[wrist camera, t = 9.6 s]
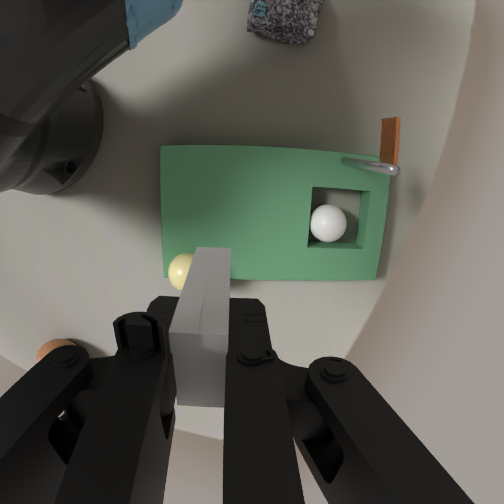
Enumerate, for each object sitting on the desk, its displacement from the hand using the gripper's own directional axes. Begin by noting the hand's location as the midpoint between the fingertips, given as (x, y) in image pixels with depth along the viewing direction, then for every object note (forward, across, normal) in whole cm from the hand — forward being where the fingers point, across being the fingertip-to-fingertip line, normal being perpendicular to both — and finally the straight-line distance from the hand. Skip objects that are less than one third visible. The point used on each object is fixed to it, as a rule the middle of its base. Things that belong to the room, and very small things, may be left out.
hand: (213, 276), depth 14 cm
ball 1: (+16, -4, -7) cm, 18 cm away
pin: (+18, +12, +7) cm, 23 cm away
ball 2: (+18, +11, -2) cm, 21 cm away
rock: (+21, +5, +22) cm, 31 cm away
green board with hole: (+21, +5, -1) cm, 21 cm away
